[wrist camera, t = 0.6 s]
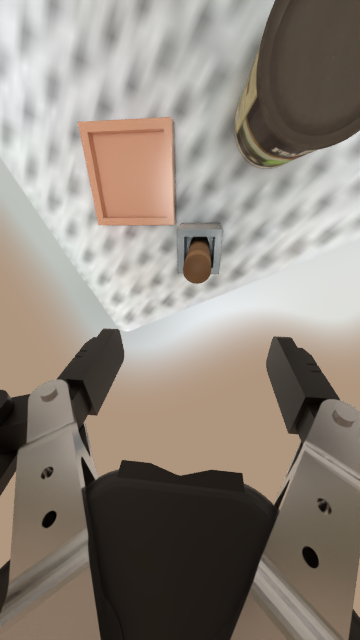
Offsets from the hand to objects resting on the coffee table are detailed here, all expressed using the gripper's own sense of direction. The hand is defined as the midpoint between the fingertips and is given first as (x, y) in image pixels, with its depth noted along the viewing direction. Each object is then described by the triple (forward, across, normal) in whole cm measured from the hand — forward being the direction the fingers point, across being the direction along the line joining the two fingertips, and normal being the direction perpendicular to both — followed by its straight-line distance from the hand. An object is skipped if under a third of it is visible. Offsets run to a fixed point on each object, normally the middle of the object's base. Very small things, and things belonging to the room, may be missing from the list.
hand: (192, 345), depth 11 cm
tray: (+28, +10, -9) cm, 31 cm away
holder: (+28, 0, 0) cm, 28 cm away
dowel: (+27, 0, 0) cm, 27 cm away
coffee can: (+28, -9, -15) cm, 33 cm away
